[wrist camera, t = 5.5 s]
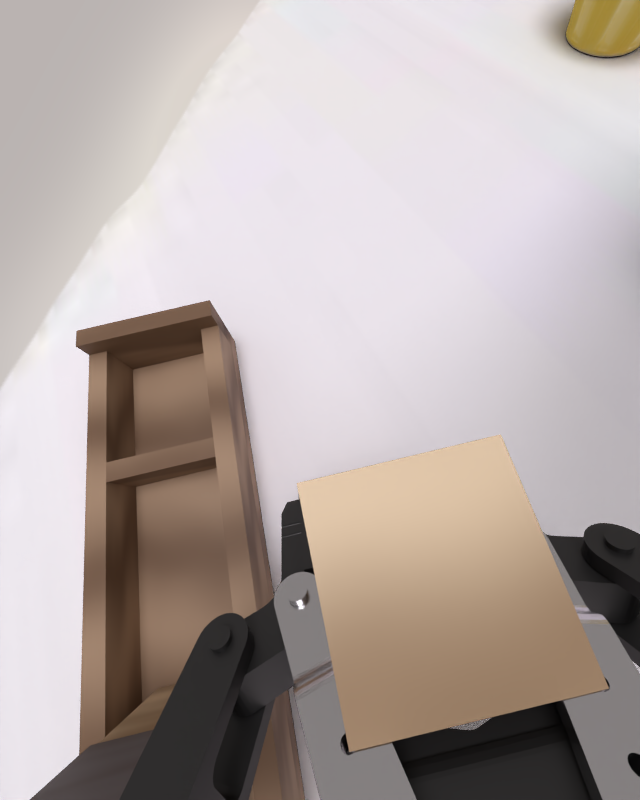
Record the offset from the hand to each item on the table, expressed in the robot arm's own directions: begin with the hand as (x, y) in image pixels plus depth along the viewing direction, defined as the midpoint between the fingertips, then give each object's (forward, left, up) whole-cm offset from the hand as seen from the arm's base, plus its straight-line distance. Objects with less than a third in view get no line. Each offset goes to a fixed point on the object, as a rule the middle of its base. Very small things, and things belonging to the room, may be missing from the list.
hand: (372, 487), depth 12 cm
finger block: (+2, +1, -5) cm, 5 cm away
